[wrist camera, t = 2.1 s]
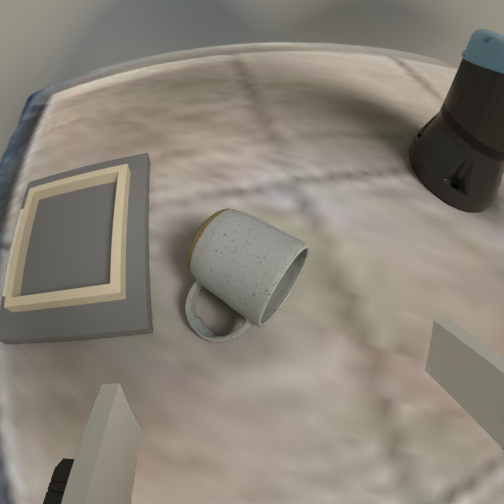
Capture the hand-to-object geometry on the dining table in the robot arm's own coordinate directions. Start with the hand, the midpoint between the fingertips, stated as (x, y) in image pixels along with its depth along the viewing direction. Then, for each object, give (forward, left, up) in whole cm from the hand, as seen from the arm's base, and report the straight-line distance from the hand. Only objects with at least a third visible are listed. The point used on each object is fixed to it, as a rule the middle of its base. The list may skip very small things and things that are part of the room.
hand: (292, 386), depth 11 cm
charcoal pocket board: (+18, -19, -15) cm, 30 cm away
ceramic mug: (0, -10, -15) cm, 18 cm away
